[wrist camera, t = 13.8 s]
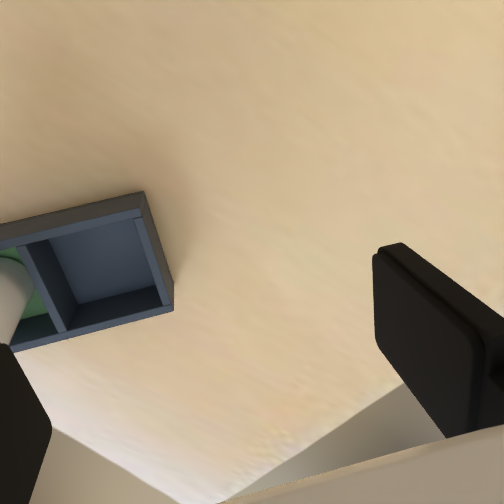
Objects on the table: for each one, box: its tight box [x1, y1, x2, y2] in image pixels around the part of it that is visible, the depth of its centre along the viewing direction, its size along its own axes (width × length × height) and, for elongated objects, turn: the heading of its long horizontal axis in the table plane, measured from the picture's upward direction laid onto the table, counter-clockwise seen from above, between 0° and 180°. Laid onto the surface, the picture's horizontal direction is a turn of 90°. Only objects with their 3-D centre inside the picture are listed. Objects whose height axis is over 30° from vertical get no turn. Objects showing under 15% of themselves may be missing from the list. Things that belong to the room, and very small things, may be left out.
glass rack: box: [0, 191, 174, 353], centre depth 35 cm, size 10×19×5 cm, turn 101°
